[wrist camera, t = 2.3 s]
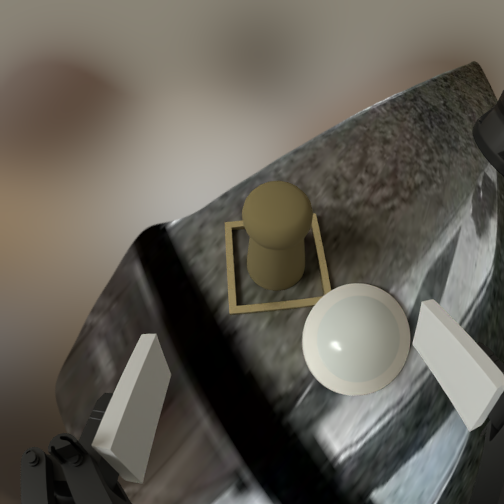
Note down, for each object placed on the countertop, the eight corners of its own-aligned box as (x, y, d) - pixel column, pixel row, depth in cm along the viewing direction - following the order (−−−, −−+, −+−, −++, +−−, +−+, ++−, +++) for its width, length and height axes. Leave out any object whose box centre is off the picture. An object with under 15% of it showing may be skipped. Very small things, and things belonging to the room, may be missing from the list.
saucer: (394, 279, 28) (399, 276, 26) (412, 380, 23) (417, 380, 22) (295, 293, 28) (296, 290, 27) (307, 404, 23) (309, 405, 22)
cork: (235, 254, 30) (218, 192, 20) (283, 226, 31) (287, 157, 21) (267, 302, 28) (264, 257, 18) (316, 270, 29) (339, 212, 19)
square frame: (315, 216, 31) (315, 213, 31) (331, 303, 27) (333, 302, 27) (225, 225, 32) (224, 222, 31) (230, 314, 27) (229, 313, 27)
